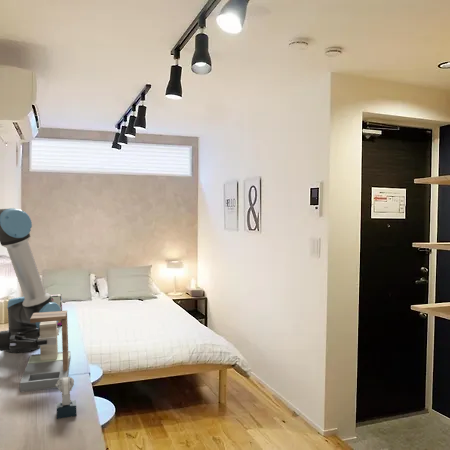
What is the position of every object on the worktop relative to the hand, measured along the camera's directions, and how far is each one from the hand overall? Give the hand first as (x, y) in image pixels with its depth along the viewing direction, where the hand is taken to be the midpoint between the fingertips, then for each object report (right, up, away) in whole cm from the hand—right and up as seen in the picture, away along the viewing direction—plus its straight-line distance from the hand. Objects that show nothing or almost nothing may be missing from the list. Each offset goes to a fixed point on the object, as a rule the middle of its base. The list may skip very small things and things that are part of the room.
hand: (57, 336), depth 187 cm
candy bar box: (-27, -10, +66) cm, 72 cm away
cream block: (-3, -8, -1) cm, 9 cm away
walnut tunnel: (+2, -9, -12) cm, 15 cm away
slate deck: (0, -12, -9) cm, 15 cm away
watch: (+19, -13, -46) cm, 51 cm away
